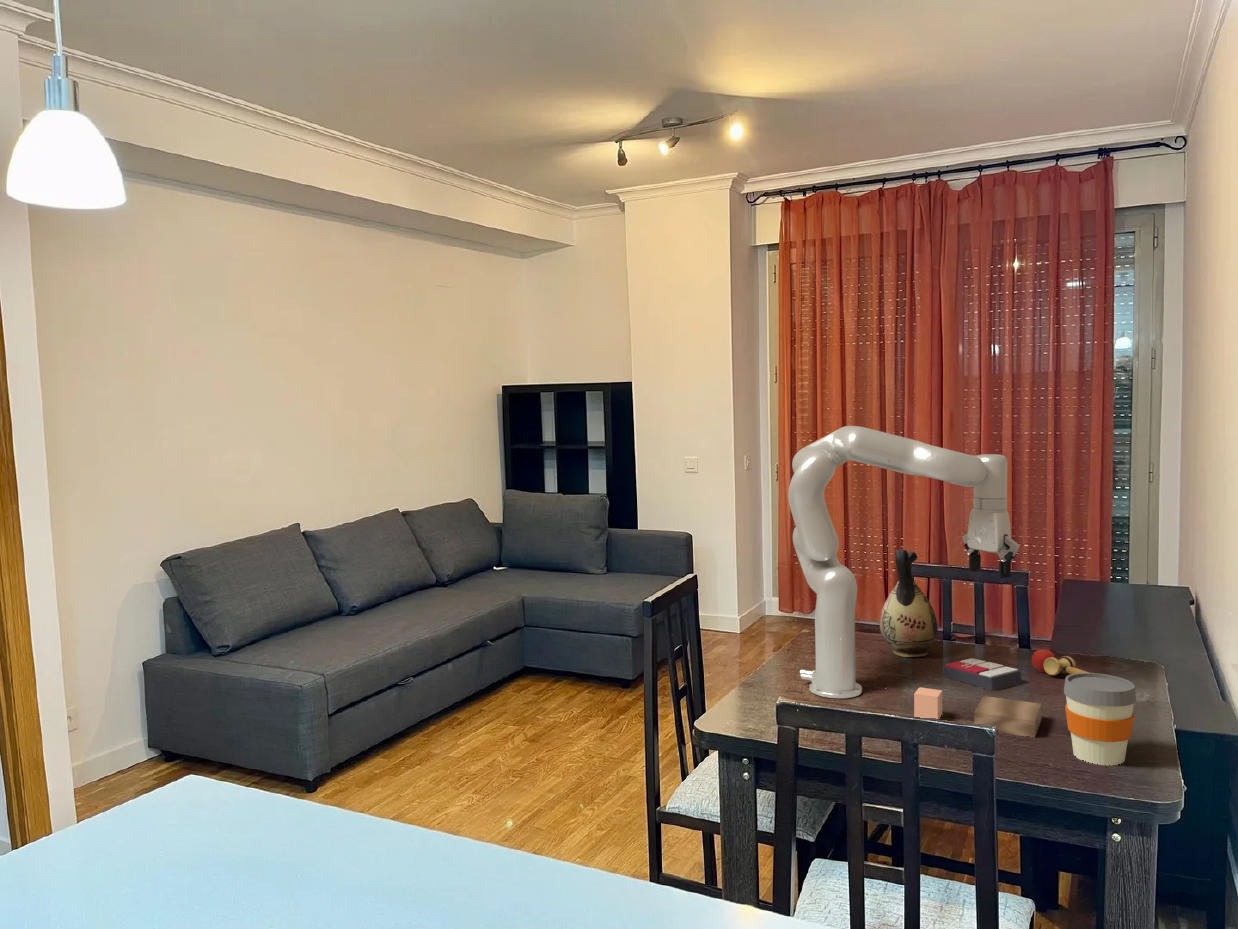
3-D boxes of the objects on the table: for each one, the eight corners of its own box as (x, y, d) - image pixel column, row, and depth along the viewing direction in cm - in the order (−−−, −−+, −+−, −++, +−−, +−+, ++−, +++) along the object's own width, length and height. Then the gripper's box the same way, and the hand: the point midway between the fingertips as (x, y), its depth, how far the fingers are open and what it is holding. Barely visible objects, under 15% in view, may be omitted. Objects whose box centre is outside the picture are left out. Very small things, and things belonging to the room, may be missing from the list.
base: (974, 730, 193) (974, 712, 192) (983, 713, 203) (983, 696, 203) (1035, 739, 186) (1035, 721, 186) (1041, 721, 197) (1041, 703, 196)
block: (914, 720, 199) (914, 693, 198) (919, 713, 203) (919, 687, 203) (937, 723, 196) (937, 697, 196) (942, 716, 200) (942, 690, 200)
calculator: (971, 656, 235) (1021, 667, 221) (972, 672, 235) (1022, 684, 221) (942, 663, 229) (991, 675, 216) (942, 680, 229) (992, 692, 216)
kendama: (1109, 689, 220) (1044, 662, 236) (1109, 666, 218) (1044, 640, 234) (1089, 700, 217) (1024, 671, 232) (1089, 677, 215) (1024, 650, 230)
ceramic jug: (887, 643, 261) (887, 542, 259) (942, 650, 253) (942, 545, 251) (871, 658, 246) (871, 551, 244) (929, 665, 238) (929, 554, 236)
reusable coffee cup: (1071, 740, 185) (1072, 668, 184) (1140, 753, 177) (1141, 679, 176) (1056, 759, 175) (1056, 684, 174) (1128, 775, 167) (1129, 696, 166)
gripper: (952, 502, 224) (952, 569, 226) (1005, 509, 208) (1005, 581, 210) (975, 500, 227) (975, 567, 228) (1030, 507, 211) (1029, 579, 212)
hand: (989, 574), depth 219 cm, fingers open, 9 cm apart
